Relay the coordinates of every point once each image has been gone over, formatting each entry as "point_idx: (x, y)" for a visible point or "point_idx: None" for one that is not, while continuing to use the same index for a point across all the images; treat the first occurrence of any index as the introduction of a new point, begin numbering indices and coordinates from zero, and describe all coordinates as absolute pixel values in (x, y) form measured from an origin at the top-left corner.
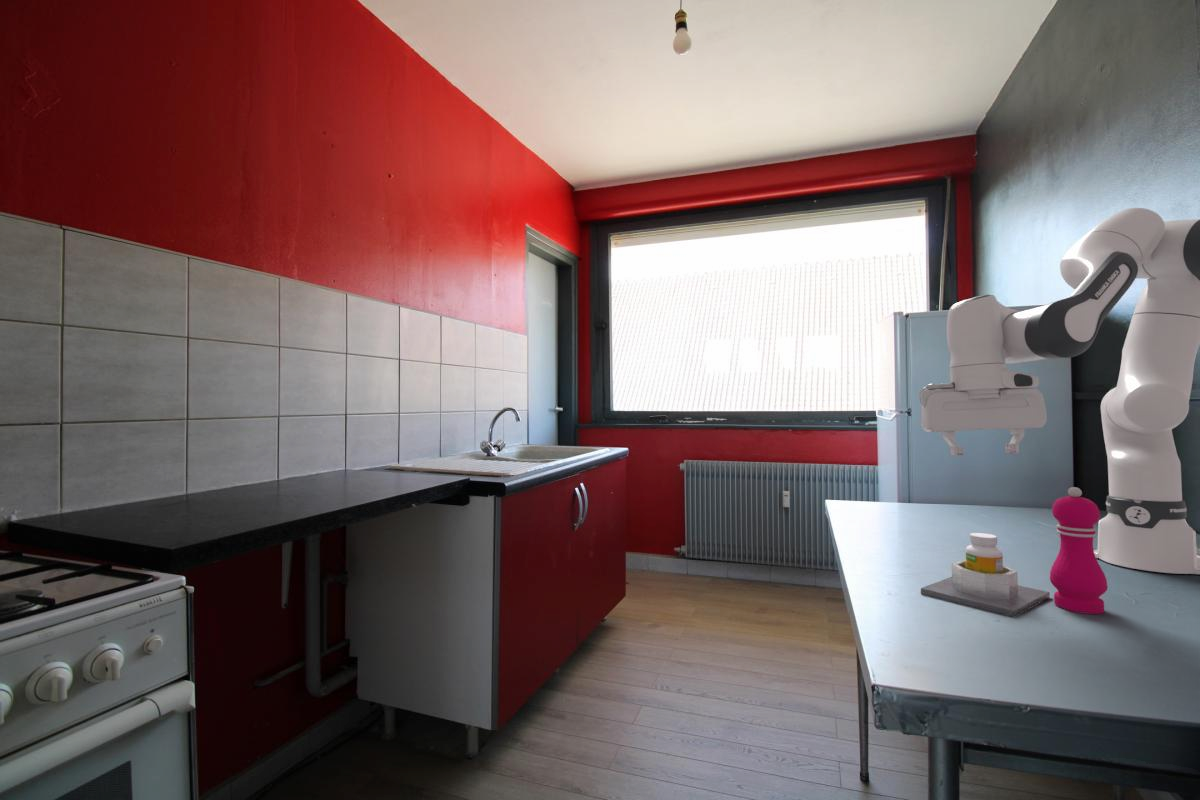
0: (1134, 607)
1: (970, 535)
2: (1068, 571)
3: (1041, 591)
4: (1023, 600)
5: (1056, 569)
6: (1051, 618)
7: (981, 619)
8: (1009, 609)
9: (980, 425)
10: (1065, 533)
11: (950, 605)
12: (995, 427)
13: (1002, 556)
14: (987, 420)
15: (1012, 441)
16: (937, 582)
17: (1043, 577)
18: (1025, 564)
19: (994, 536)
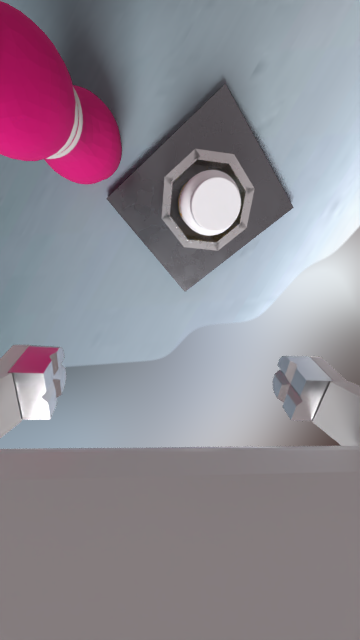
0: (3, 155)
1: (239, 211)
2: (102, 108)
3: (117, 201)
4: (174, 146)
5: (111, 137)
6: (166, 85)
7: (279, 73)
8: (226, 92)
9: (281, 476)
10: (76, 94)
11: (281, 149)
12: (126, 454)
13: (186, 184)
14: (215, 549)
15: (4, 412)
16: (249, 240)
17: (60, 303)
18: None
19: (200, 191)
